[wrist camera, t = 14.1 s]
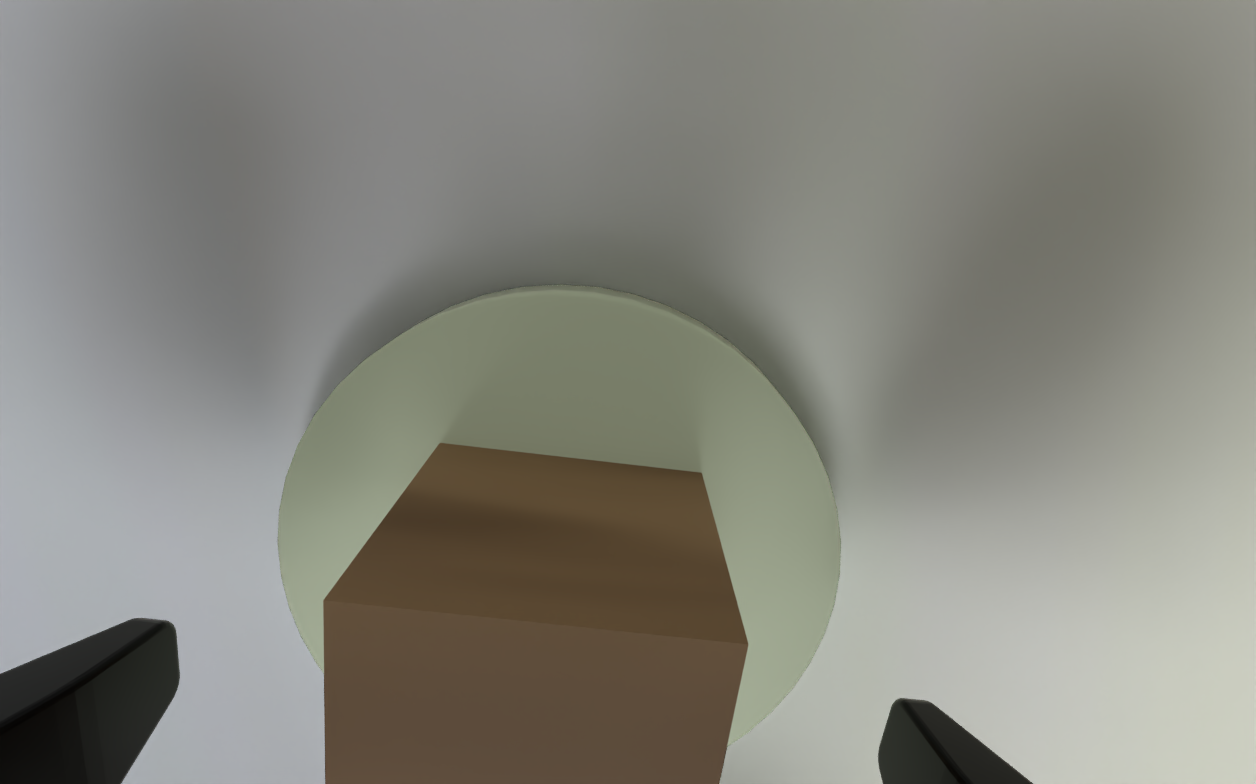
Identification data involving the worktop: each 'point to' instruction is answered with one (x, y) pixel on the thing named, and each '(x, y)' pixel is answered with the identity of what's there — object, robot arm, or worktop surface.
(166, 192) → the worktop surface
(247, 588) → the worktop surface
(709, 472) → the dish
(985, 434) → the worktop surface
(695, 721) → the block
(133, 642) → the robot arm
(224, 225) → the worktop surface
